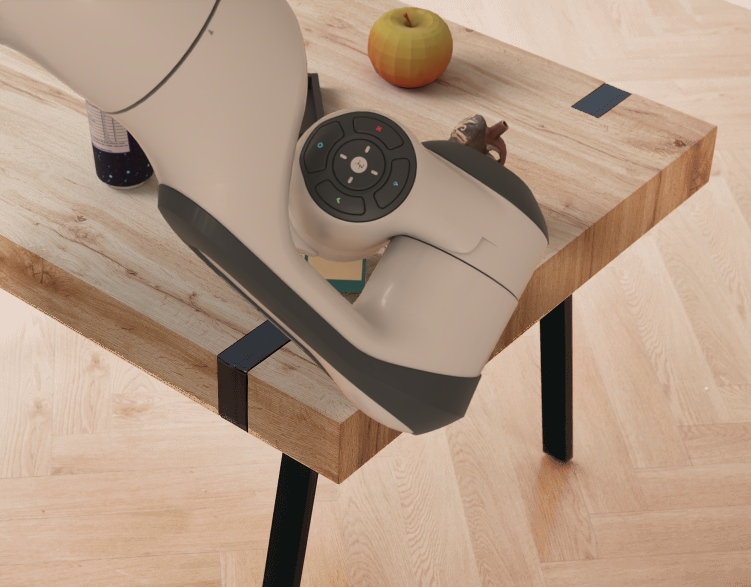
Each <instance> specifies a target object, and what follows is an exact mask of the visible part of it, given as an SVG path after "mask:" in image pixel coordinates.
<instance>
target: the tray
mask: <svg viewBox="0 0 751 587" xmlns="http://www.w3.org/2000/svg"><path fill="white" fill-rule="evenodd" d="M323 104H324V103H323V98H322V91H321V85H320V77H319V73H318V72H308V87H307V98H306V106H305V112H304V116H303V120H302V124H301V128H300V132H299V136H298V140H299V139H300V137H301V136H302V135H303V134H304V133H305V132H306V131H307V130H308V129H309V128H310V127H311V126H312V125H313V124H314V123H315V122H317V121H318V120H320V119H321V118H322V117H324V116H325V111H324V105H323ZM297 142H298V141H297Z"/></svg>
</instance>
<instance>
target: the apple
mask: <svg viewBox="0 0 751 587" xmlns="http://www.w3.org/2000/svg"><path fill="white" fill-rule="evenodd" d="M453 51H454V40H453V36H452V32H451V29H450V28H449V25H448V24H447V23H446V22H445V20H444V19H443V18H442V17H441V16H440V15H439V14H437V13H436V12H433V11H432V10H429V9H426V8H421V7H415V6H405V7H399V8H398V7H397V8H393V9H391V10H390V9H389V10H388V11H386V12H384V13H383V14H382V15H381V16H380V17H379V18H377V19H376V21H375V22H373V25H372V26H371V29H370V30H369V33H368V39H367V57H368V59H369V61H370V63H371V65H372V67H373V69H374V71H375V73H376V74H377V75H378V76H379V77H380V78H382V79H383V80H384V81H386V82H387V83H389V84H391V85H394V86H395V87H396V86H397V87H400V88H401V87H402V88H406V89H407V88H408V89H410V88H421V87H424V86H428V85H430V84H432V83H434V82H435V81H436V80H437V79H439V78H440V77H441V76H442V75H443V74H444V72H445V71H446V70H447V68H448V67H449V65H450V62H451V61H452V58H453V56H452V55H453Z"/></svg>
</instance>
